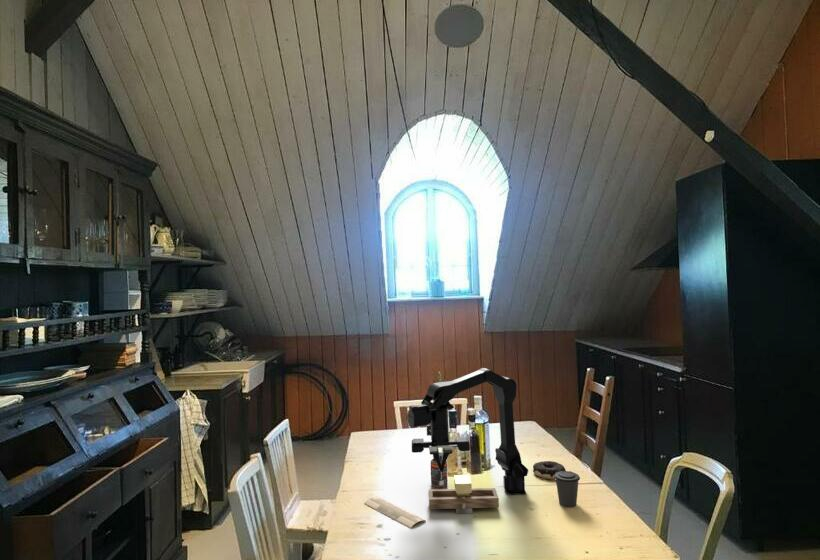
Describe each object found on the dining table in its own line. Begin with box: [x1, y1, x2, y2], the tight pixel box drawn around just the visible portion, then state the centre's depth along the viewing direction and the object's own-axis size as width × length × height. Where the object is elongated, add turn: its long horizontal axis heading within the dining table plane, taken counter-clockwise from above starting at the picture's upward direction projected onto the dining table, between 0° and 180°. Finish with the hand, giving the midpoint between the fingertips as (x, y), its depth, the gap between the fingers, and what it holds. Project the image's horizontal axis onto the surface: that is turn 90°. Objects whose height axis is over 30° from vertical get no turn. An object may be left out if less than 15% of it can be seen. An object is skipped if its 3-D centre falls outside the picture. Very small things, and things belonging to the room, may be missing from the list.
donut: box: [532, 460, 567, 480], centre depth 189 cm, size 11×12×4 cm
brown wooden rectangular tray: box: [428, 487, 500, 515], centre depth 164 cm, size 22×9×5 cm, turn 89°
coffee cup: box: [554, 470, 581, 509], centre depth 164 cm, size 8×8×10 cm
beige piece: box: [364, 496, 427, 529], centre depth 162 cm, size 24×7×2 cm, turn 42°
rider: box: [454, 474, 473, 497], centre depth 164 cm, size 5×7×6 cm
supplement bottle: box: [430, 451, 448, 489], centre depth 182 cm, size 6×6×11 cm
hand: (441, 470), depth 165 cm, fingers closed
